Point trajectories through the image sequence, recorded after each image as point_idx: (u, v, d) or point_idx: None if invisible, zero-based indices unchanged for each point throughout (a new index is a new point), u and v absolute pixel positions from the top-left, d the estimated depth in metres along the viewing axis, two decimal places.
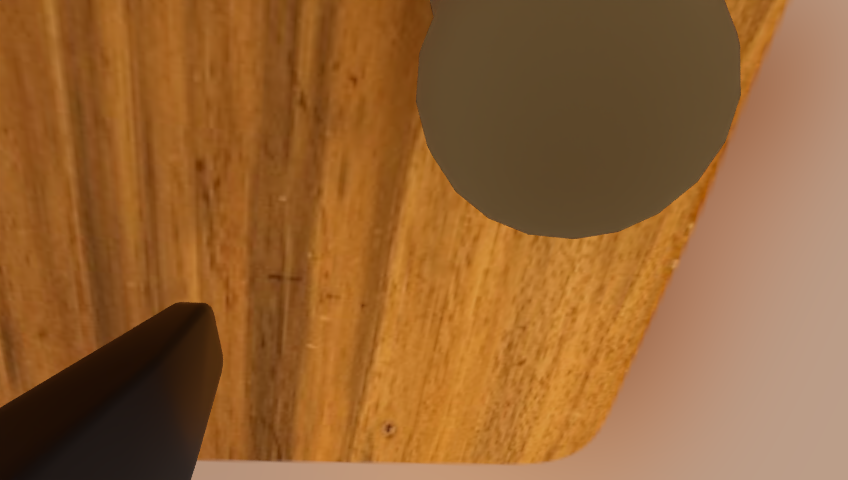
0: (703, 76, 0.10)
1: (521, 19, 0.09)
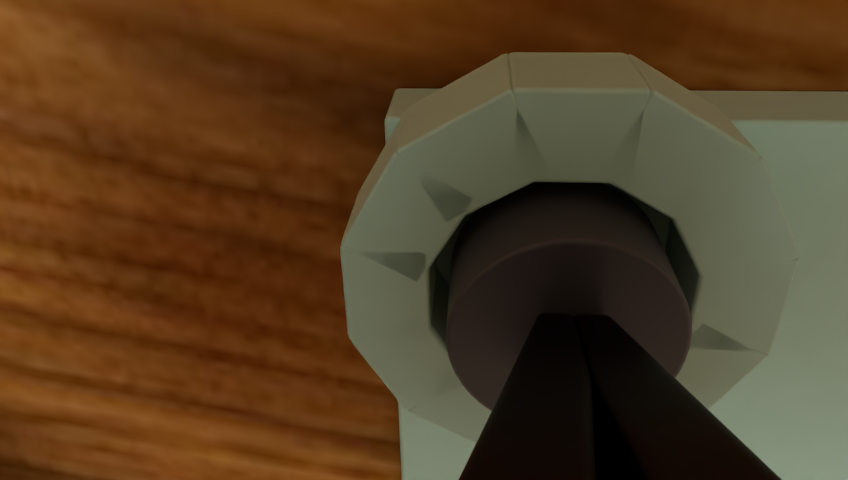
0: None
1: None
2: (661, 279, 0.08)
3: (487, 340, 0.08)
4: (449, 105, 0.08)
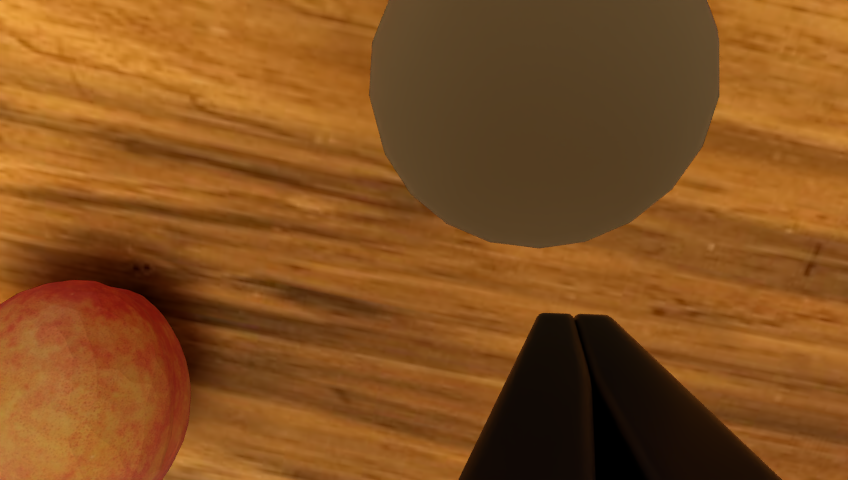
0: None
1: (437, 181, 0.10)
2: None
3: None
4: None
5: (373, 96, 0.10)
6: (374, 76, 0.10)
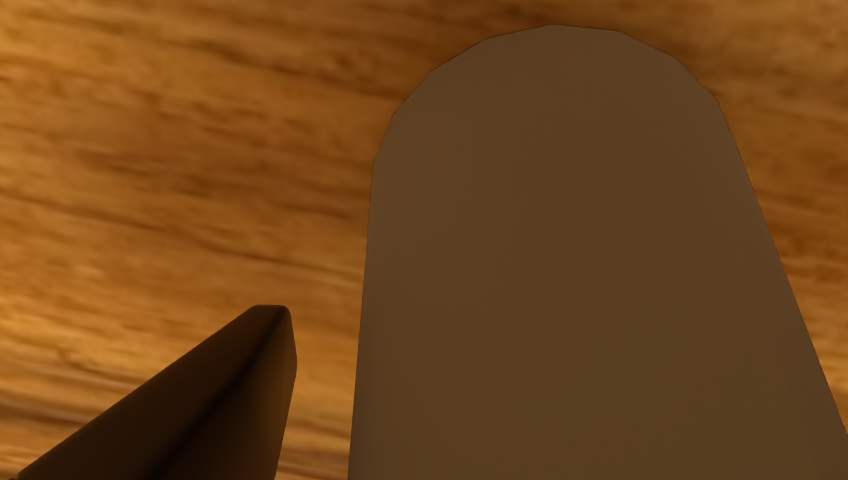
0: None
1: None
2: None
3: None
4: None
5: None
6: None
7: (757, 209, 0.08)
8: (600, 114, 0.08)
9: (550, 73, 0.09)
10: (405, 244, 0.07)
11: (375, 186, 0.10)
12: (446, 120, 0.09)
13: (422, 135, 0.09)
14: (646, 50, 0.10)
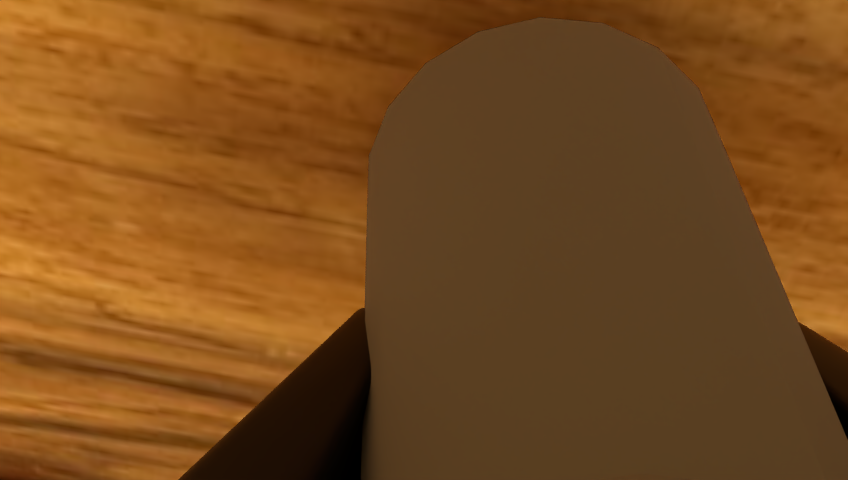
0: None
1: None
2: None
3: None
4: None
5: None
6: None
7: (739, 187, 0.08)
8: (589, 99, 0.08)
9: (540, 63, 0.09)
10: (407, 226, 0.08)
11: (373, 176, 0.10)
12: (442, 109, 0.09)
13: (419, 124, 0.09)
14: (630, 40, 0.10)
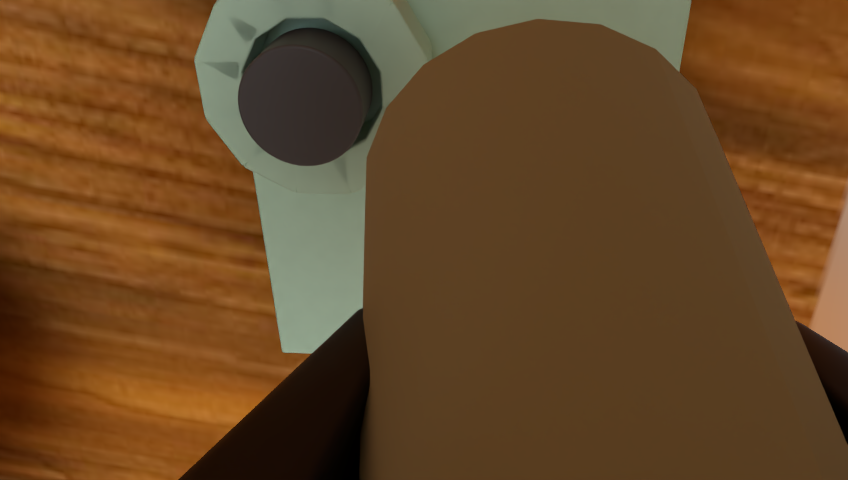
0: None
1: None
2: (337, 67, 0.15)
3: (259, 107, 0.16)
4: None
5: None
6: None
7: (737, 189, 0.08)
8: (588, 101, 0.08)
9: (538, 64, 0.09)
10: (406, 228, 0.08)
11: (370, 178, 0.10)
12: (440, 111, 0.09)
13: (416, 126, 0.09)
14: (628, 42, 0.10)
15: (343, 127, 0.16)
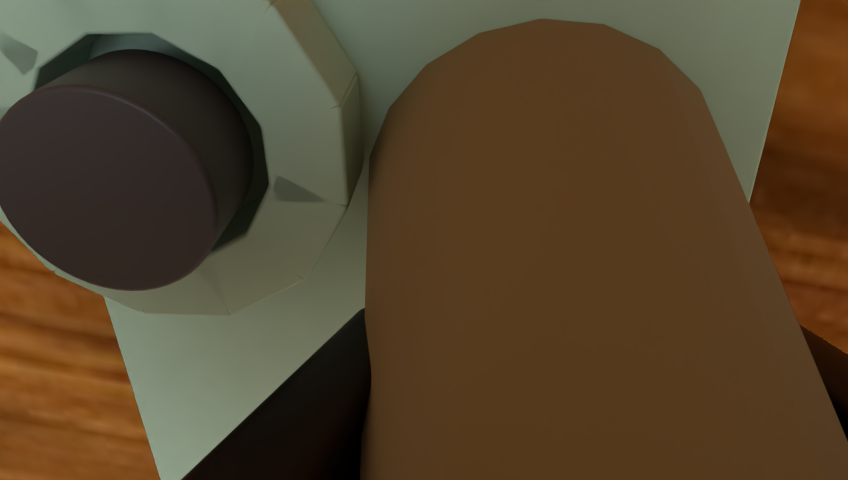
0: None
1: None
2: (159, 126, 0.08)
3: (30, 195, 0.09)
4: None
5: None
6: None
7: (740, 190, 0.08)
8: (591, 102, 0.08)
9: (541, 64, 0.09)
10: (407, 229, 0.08)
11: (373, 178, 0.10)
12: (442, 111, 0.09)
13: (419, 126, 0.09)
14: (631, 42, 0.10)
15: (184, 230, 0.09)
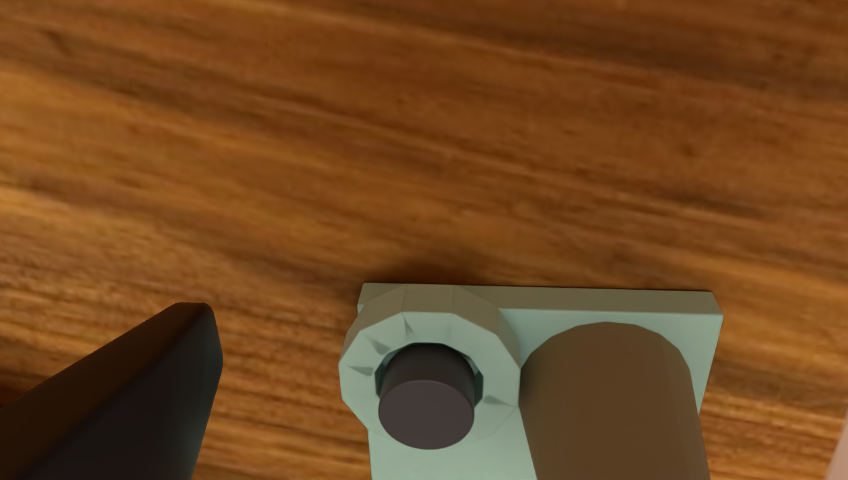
0: None
1: None
2: (457, 393, 0.20)
3: (394, 414, 0.21)
4: (381, 310, 0.22)
5: None
6: None
7: (692, 421, 0.20)
8: (632, 386, 0.20)
9: (610, 359, 0.21)
10: (563, 442, 0.20)
11: (527, 391, 0.23)
12: (567, 377, 0.21)
13: (556, 381, 0.21)
14: (647, 334, 0.22)
15: (457, 428, 0.21)
